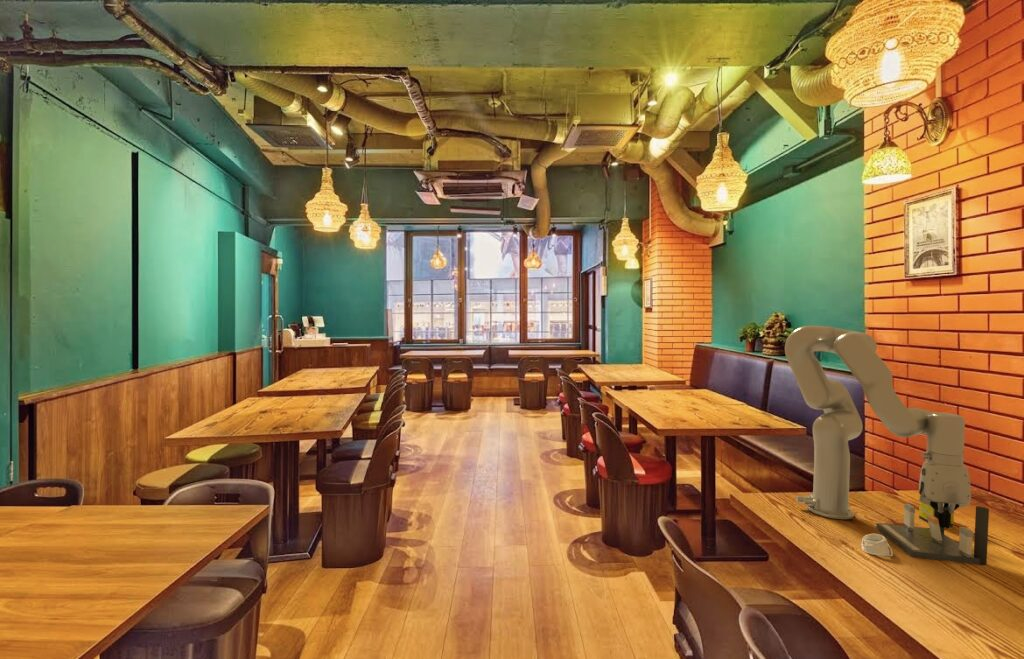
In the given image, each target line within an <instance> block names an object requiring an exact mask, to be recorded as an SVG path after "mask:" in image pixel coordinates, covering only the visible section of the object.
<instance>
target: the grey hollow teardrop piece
mask: <svg viewBox="0 0 1024 659" xmlns="http://www.w3.org/2000/svg"><path fill="white" fill-rule="evenodd" d="M888 542H889V541H888V540H887V538H886V536H884V535H882V534H879V533H869V534H865V535H864V536H863V537H862V539H861V550H862V551H863V552H865V553H866V554H868V555H873V556H880V557H893V556H894V552H893V550H892V547H891V545H890V544H889V543H888Z"/></svg>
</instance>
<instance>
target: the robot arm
mask: <svg viewBox="0 0 1024 659" xmlns="http://www.w3.org/2000/svg"><path fill="white" fill-rule="evenodd" d="M877 347H878V346H877V341H876V340H875V339H874V337H873V336H871V335H870V334H867V333H866V332H862V331H861V332H860V331H856V330H855V331H854V330H849V329H843V328H839V327H834V326H833V327H832V326H826V325H804V326H800V327H798V328H796V329H794V330H793V331H792V332H791V333H789V335H788V337H787V338H786V340H785V344H784V354H785V357H786V360H787V362H788V365H789V367H790V369H791V371H792V373H793V377H794V378H795V380H796V382H797V383H796V384H797V386H798V387H799V390H800V393H801V395H802V398H803V400H804V402H805V404H806V405H807V406H808V407H809V408H811V409H813V410H823V414H821V415H819V416H818V417H816V419H814V421H813V423H812V440H813V446H814V447H813V448H814V450H813V451H814V452H813V455H814V457H813V462H814V463H813V487H812V488H813V490H812V493H811V492H810V493H809V495H806V496H803V495H796V497H795V500H796V502H797V503H802V504H803V505H806V509H808V511H810V512H811V513H814V514H815V515H818V516H821V517H824V518H825V517H826V518H828V519H835V520H850V519H851V520H852V519H853V518H854V517H855V512H854V511H853V510H852V509H851V508H850V507H849V503H850V502H849V497H850V476H851V475H850V474H851V473H850V472H851V471H850V470H851V455H850V447H849V441H852V440H854V439H856V438H858V437H860V435H861V434H862V431H863V428H864V427H863V421H862V418H861V416H860V414H859V411H858V409H857V407H856V405H855V403H854V400H853V398H852V396H851V395H850V392H849V390H848V389H847V388H846V386H845V385H844V384H843V383H841V381H839V380H836V379H832V378H828V377H827V375H826V373H825V371H824V369H823V366H822V364H821V363H820V361H819V360H818V358H817V357H816V355H815V352H827V353H832V354H836V355H837V356H838V358H840V360H841V361H842V363H843V364H844V365H845V366H846V367H847V368H848V370H849V371H850V373H852V375H853V377H854V378H855V379H856V380H857V381H858V383H859V384H860V385H861V387H862V390H863V394H864V395H865V398H866V400H867V402H868V405H869V406H870V408H871V410H872V411H873V413H874V414H875V415H876V416H877V418H878V419H879V420H880V422H881V423H882V424H883V425H884V427H885V428H886V429H887V430H888V431H889V432H891V433H892V434H893V435H895V436H897V437H900V438H910V437H911V438H912V437H914V436H918V435H926V450H925V453H921V455H920V456H921V458H922V459H925V460H924V461H923V464H922V466H921V470H920V473H919V474H920V475H919V481H918V494H919V499H918V500H919V503H920V502H922V503H924V504H927V505H930V506H931V507H932V508H933V509H934V510H935V514H934V517H936V518H937V519H938V521H939V526H940V527H941V528H944V529H950V527H951V526H950V524H951V514H953V513H954V514H955V511H956V510H957V509H959V508H966V507H968V505H969V504H970V503H971V500H972V492H971V491H972V490H971V479H970V474H969V469H968V467H967V466H966V465H964V453H965V431H966V430H965V427H966V421H965V418H964V417H963V416H962V415H959V414H955V413H951V412H940V411H939V412H938V411H937V412H936V411H932V410H927V409H923V408H918V407H907V406H906V405H905V404H904V402H903V401H902V400H901V399H900V397H899V396H898V395H897V392H896V390H895V389H894V385H893V373H892V372H893V371H892V370H891V369H890V368H889V366H888V365H887V364H886V363H885V362H884V360H883V359H882V358H881V357H880V356H879V355H878V354H877V352H876V351H877ZM920 495H921V496H920Z"/></svg>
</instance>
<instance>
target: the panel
mask: <svg viewBox="0 0 1024 659" xmlns="http://www.w3.org/2000/svg"><path fill="white" fill-rule="evenodd" d="M875 526H876V530H878V531H879V532H880V533H882V534H883V536H884V535H885V536H884V537H887V538H888V539H889V540H890V541H892V542H893V543H894V544H896V545H897V546H898V547H899V548H901V549H902V551H904V552H905V553H907V555H909V556H910V557H912V558H918V559H928V560H935V561H936V560H937V561H945V562H946V561H947V562H955V563H956V562H957V563H964V564H965V563H966V564H973V565H980V558H977V557H975V556H974V552H972V555H968V554H966V553H964V552H963V551H961V550H960V549H959V542H956V541H955V540H953V539H952V538H950V537H949V536H947V535H946V534H945V533H944V534H943V533H941V536H942V541H938V540H936V539H935V538H933V537H932V536H931V532H930V528H929V527H920V526H914V528H910V527H908V526H907V525H906V524H904V525H901V524H890V523H889V524H888V523H879V522H876V525H875Z"/></svg>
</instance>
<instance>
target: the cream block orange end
mask: <svg viewBox="0 0 1024 659" xmlns="http://www.w3.org/2000/svg"><path fill="white" fill-rule="evenodd" d="M926 516H927V520H928V528H930V532H931V536H932V537H933V538H935V539H936V540H938V541H942V536H941V531H940V527H939V521H938V519H937V518H936V517H934V516H933V515H926Z"/></svg>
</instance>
